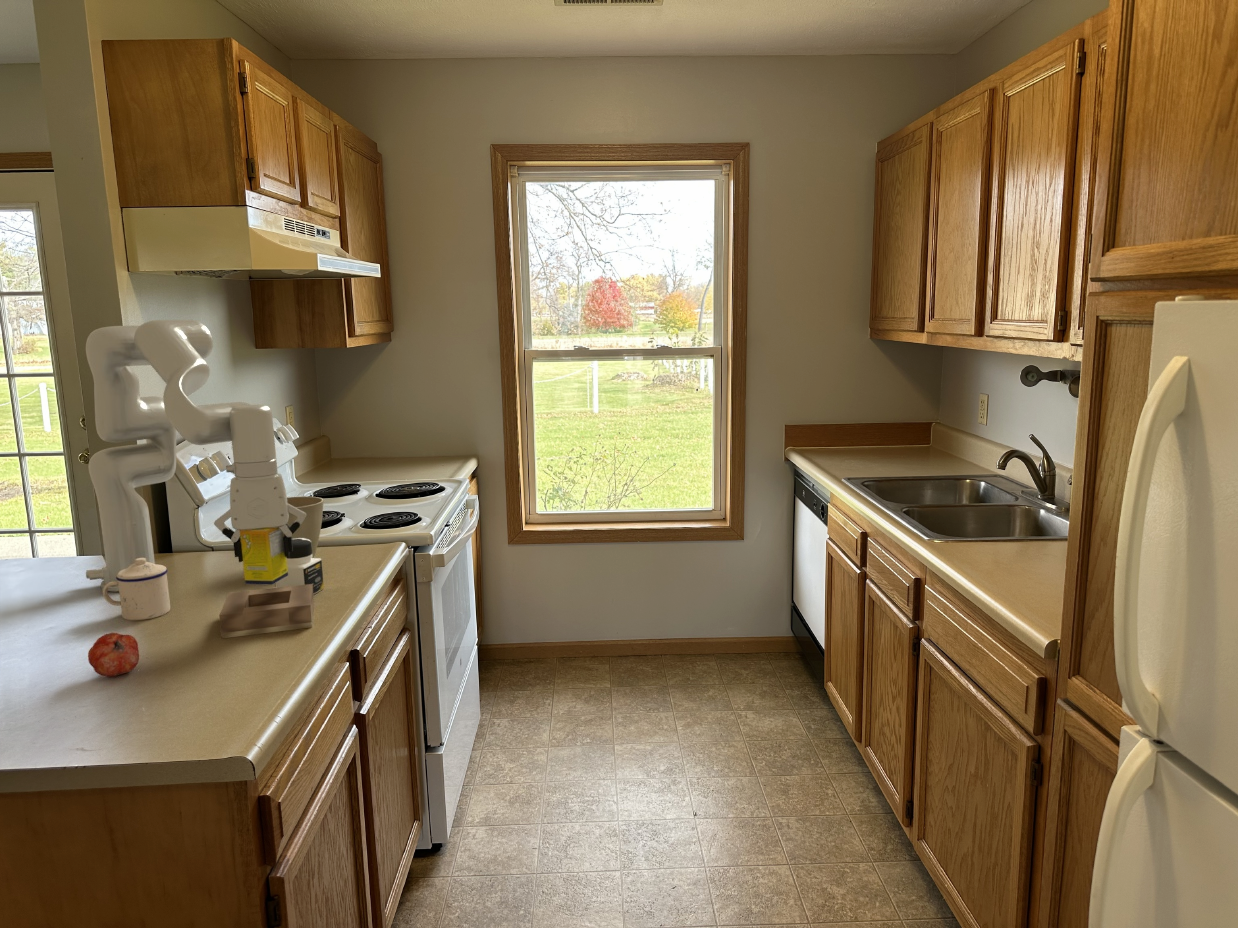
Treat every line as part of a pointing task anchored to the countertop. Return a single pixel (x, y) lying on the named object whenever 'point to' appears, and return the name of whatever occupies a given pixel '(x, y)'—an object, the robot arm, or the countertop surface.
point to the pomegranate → (114, 654)
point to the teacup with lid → (141, 591)
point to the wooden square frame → (267, 611)
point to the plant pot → (307, 518)
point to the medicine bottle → (303, 567)
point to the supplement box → (263, 556)
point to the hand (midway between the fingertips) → (264, 557)
